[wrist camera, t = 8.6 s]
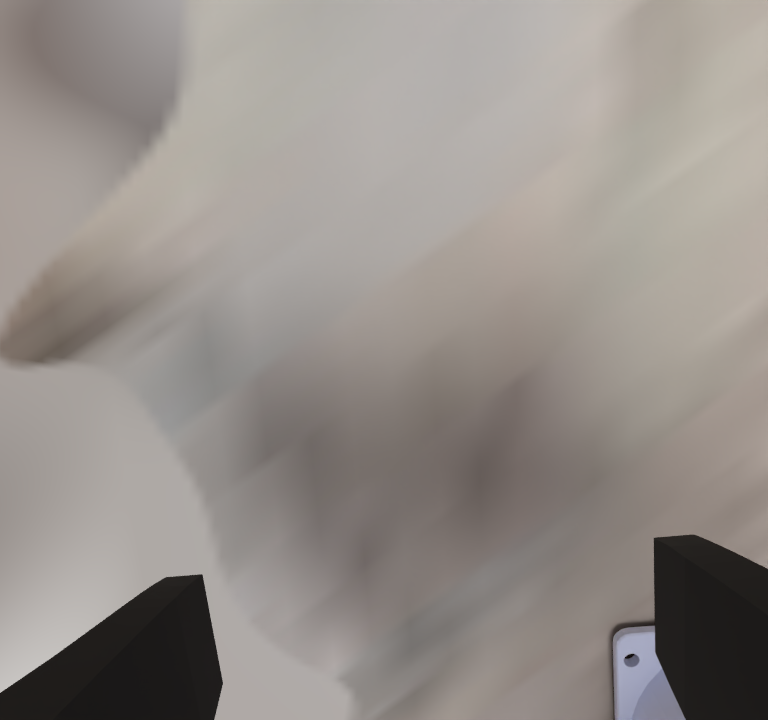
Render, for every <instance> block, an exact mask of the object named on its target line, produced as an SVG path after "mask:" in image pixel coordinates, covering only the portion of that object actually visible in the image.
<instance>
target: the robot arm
mask: <svg viewBox="0 0 768 720" xmlns="http://www.w3.org/2000/svg"><path fill="white" fill-rule="evenodd" d="M654 595H655V626H643V627H629V628H624V629H621V630H619V631H618V632H617V633H616V634H615V636H614V638H613V668H614V705H615V720H768V569H767V568H765V567H763V566H761V565H759V564H757V563H755V562H753V561H751V560H749V559H747V558H745V557H743V556H741V555H738V554H736V553H734V552H732V551H730V550H728V549H726V548H724V547H722V546H720V545H718V544H715V543H713V542H711V541H709V540H706V539H704V538H701V537H699V536H696V535H683V536H671V537H658V538H654ZM631 653H632V654H634V656H633V657H632V658H629V659H624V658H625V657H626V656H627V655H628V654H631ZM222 685H223V682H222V677H221V671H220V666H219V661H218V655H217V650H216V645H215V639H214V634H213V629H212V623H211V618H210V613H209V608H208V602H207V597H206V591H205V586H204V581H203V575H190V576H176V577H166V578H164V579H162V580H161V581H159V582H157V583H155V584H154V585H153V586H151V587H149V588H148V589H146V590H145V591H143V592H142V593H140V594H139V595H138V596H136V597H135V598H134V599H132V600H131V601H129V602H128V603H126V604H125V605H124V606H122V607H121V608H120V609H118V610H117V611H115V612H114V613H113V614H111V615H110V616H109V617H107V618H106V619H105V620H103V621H102V622H100V623H99V624H98V625H96V626H95V627H94V628H92V629H91V630H89V631H88V632H87V633H86V634H84V635H83V636H81V637H80V638H78V639H77V640H76V641H75V642H73V643H72V644H70V645H69V646H67V647H66V648H65V649H64V650H62V651H61V652H59V653H58V654H57V655H55V656H54V657H52V658H51V659H49V660H48V661H47V662H45V663H44V664H42V665H41V666H39V667H38V668H36V669H35V670H33V671H32V672H30V673H29V674H27V675H26V676H25V677H23V678H22V679H20V680H19V681H17V682H16V683H14V684H13V685H11V686H10V687H8V688H7V689H5V690H4V691H2V692H1V693H0V720H214V718H215V714H216V709H217V706H218V701H219V697H220V693H221V689H222Z"/></svg>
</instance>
